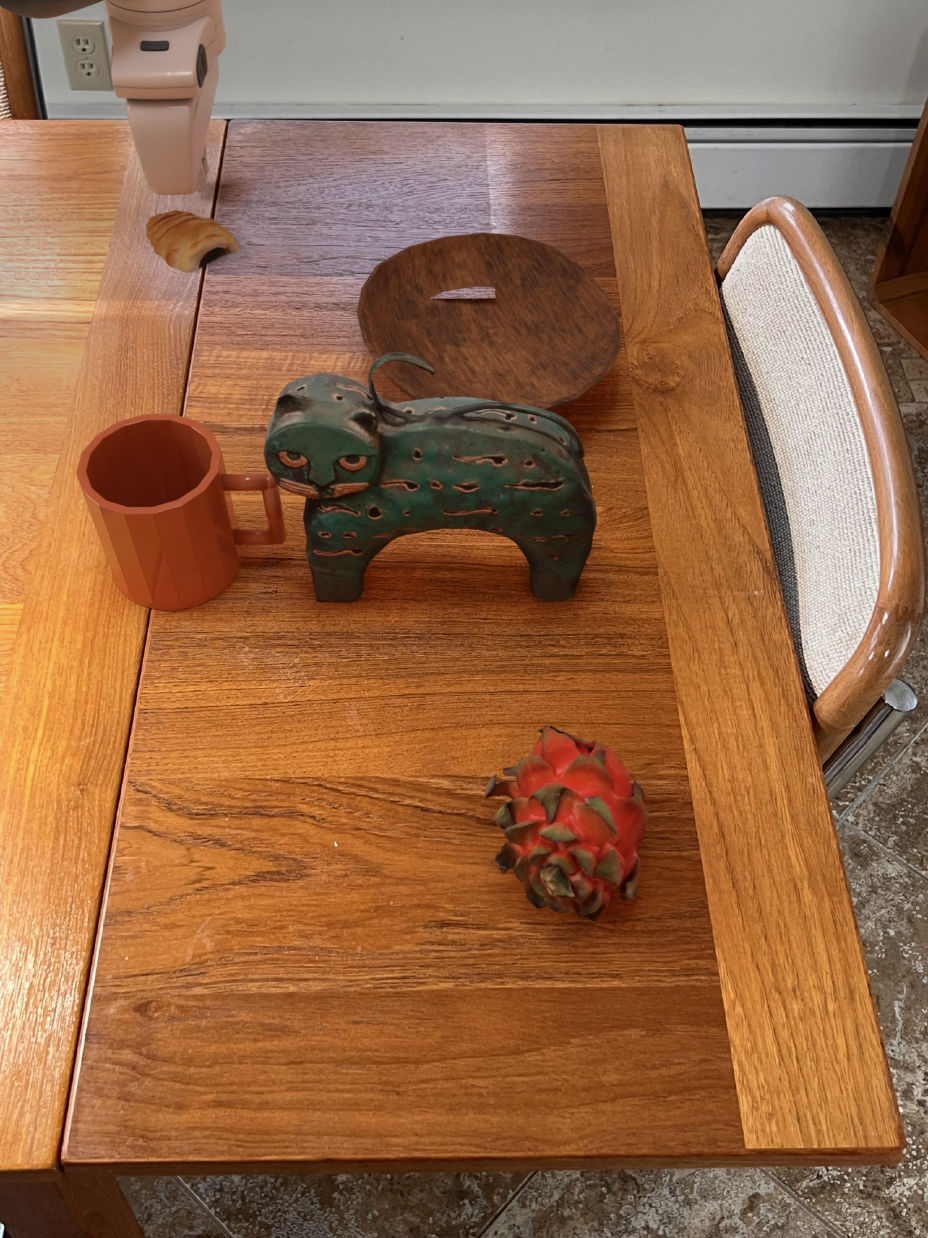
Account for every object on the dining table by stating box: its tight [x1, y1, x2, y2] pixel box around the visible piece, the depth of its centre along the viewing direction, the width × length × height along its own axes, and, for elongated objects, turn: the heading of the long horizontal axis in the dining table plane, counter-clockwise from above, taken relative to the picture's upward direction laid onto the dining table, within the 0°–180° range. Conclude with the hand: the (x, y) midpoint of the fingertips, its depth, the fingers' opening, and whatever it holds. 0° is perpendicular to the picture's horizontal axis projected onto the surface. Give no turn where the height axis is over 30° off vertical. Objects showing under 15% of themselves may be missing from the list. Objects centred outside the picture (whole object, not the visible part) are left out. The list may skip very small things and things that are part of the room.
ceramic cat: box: [263, 352, 598, 603], centre depth 71 cm, size 20×6×20 cm, turn 89°
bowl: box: [356, 232, 622, 413], centre depth 90 cm, size 20×22×5 cm
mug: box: [76, 413, 288, 611], centre depth 76 cm, size 12×9×10 cm
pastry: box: [145, 209, 242, 274], centre depth 99 cm, size 9×7×4 cm
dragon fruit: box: [483, 725, 649, 922], centre depth 64 cm, size 8×8×12 cm
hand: (197, 181), depth 102 cm, fingers closed
